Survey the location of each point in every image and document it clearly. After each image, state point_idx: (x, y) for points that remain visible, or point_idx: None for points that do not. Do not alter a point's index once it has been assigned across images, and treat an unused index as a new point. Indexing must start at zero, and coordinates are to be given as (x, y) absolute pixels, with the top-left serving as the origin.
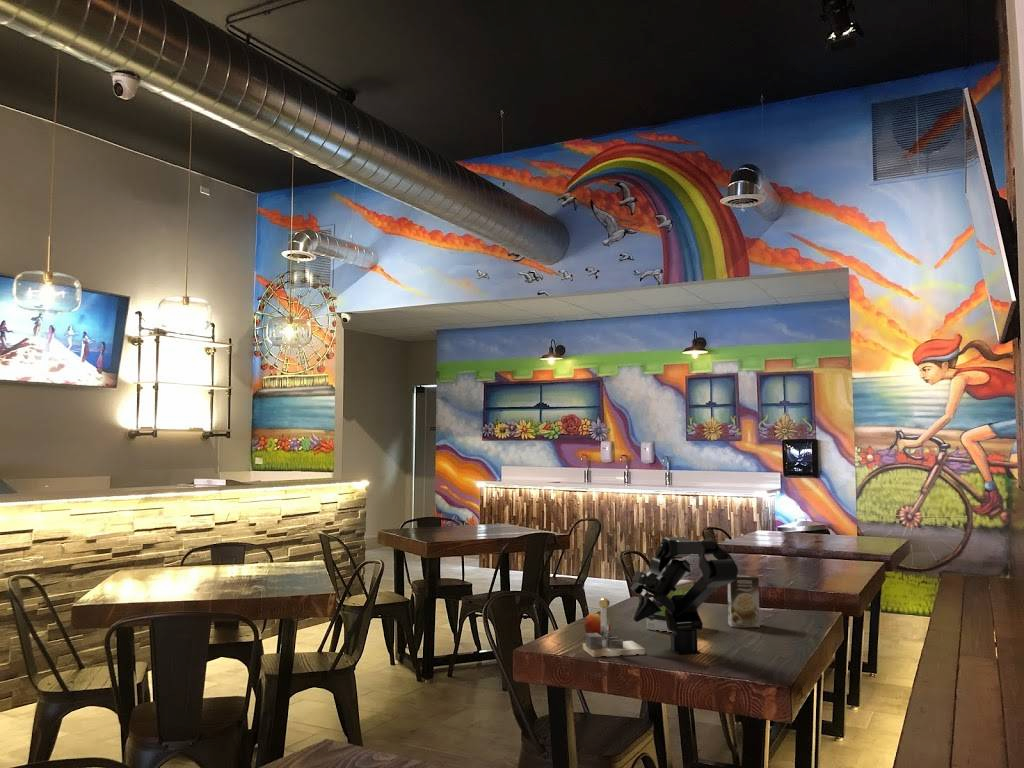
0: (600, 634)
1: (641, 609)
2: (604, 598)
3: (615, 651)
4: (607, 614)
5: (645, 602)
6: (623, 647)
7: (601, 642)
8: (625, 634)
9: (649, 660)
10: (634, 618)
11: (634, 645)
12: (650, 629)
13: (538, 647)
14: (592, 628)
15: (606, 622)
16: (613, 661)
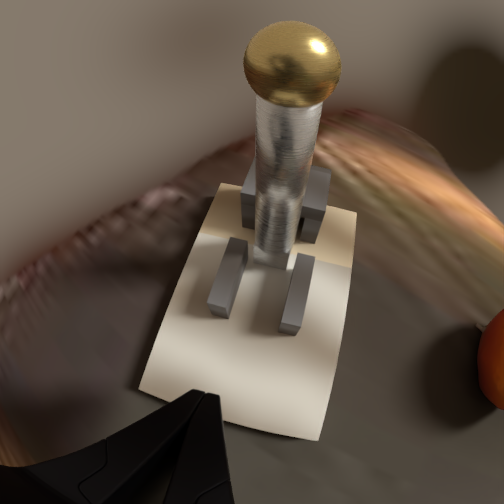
0: (479, 358)
1: (103, 443)
2: (281, 22)
3: (189, 258)
4: (257, 140)
5: (14, 480)
6: (213, 318)
7: (241, 207)
8: (481, 479)
9: (73, 333)
10: (197, 393)
11: (219, 391)
12: None
13: (397, 147)
14: (496, 317)
15: (256, 174)
16: (141, 221)
